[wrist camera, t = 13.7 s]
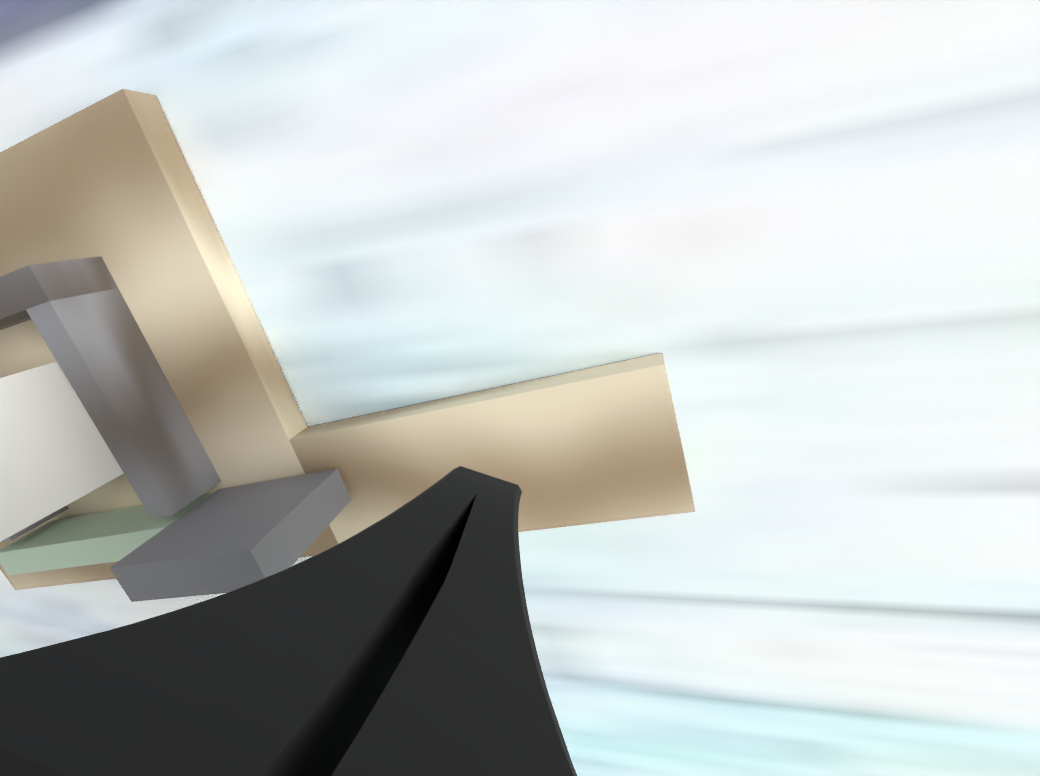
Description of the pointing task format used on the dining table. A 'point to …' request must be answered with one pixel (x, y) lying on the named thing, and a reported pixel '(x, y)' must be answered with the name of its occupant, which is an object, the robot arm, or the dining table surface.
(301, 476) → the gate
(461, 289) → the dining table surface
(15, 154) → the beige board
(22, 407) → the white cube block
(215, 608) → the robot arm
